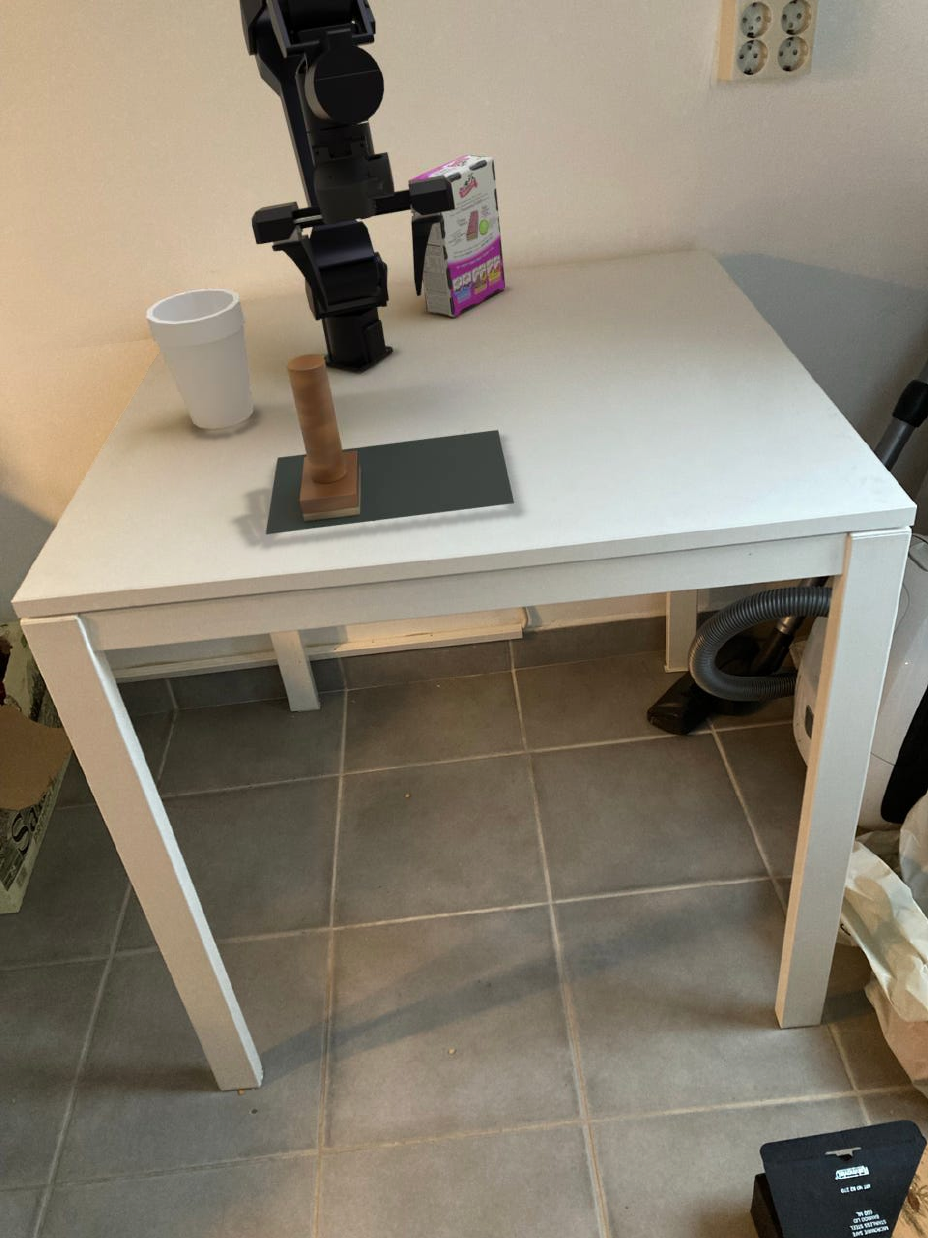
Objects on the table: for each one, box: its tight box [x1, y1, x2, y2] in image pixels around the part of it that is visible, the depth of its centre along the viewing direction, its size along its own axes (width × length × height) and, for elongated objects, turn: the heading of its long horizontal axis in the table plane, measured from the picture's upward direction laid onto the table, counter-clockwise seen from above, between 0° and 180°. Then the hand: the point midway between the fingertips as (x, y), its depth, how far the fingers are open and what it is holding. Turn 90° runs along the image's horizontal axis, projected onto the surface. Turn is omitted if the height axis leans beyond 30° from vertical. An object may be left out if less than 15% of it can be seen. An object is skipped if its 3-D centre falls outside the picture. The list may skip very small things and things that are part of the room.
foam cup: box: [146, 287, 254, 430], centre depth 103 cm, size 10×9×13 cm
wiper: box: [286, 353, 361, 521], centre depth 86 cm, size 5×8×13 cm, turn 4°
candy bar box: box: [407, 154, 506, 318], centre depth 123 cm, size 11×5×16 cm, turn 141°
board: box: [265, 429, 515, 535], centre depth 92 cm, size 22×14×1 cm, turn 94°
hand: (372, 303), depth 96 cm, fingers open, 9 cm apart
